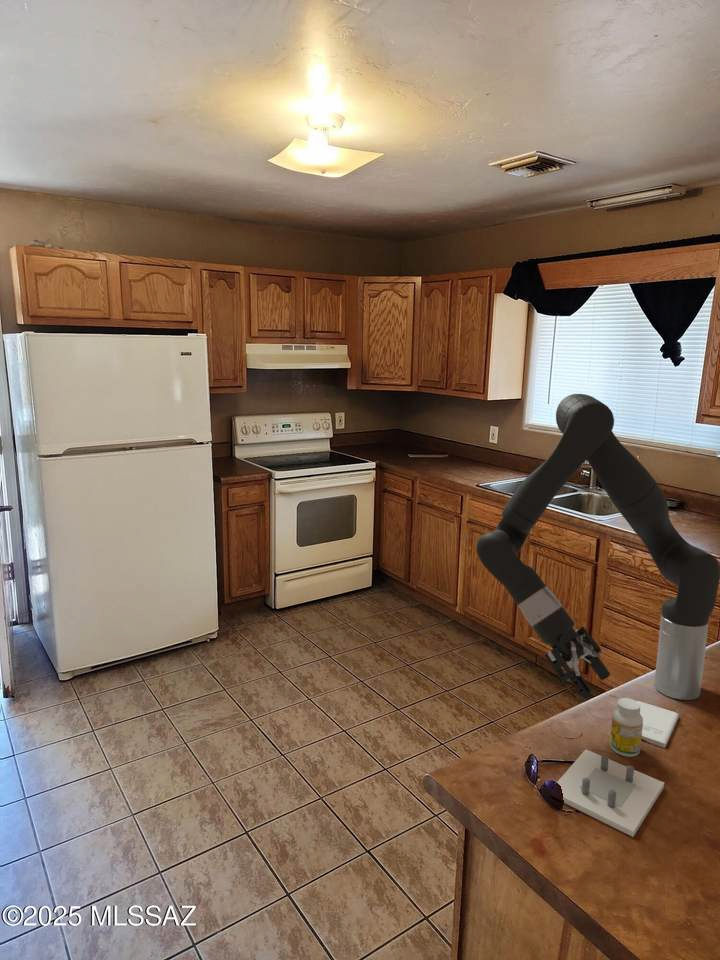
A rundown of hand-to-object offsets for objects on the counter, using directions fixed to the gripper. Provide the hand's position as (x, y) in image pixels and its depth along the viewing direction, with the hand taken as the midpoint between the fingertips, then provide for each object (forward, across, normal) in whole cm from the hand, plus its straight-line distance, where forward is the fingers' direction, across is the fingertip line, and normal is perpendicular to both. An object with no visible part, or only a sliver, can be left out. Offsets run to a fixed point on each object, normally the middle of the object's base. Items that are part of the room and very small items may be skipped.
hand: (597, 686), depth 122 cm
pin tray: (+13, -14, +2) cm, 19 cm away
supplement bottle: (+12, 0, +4) cm, 13 cm away
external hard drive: (+13, +11, +3) cm, 18 cm away
